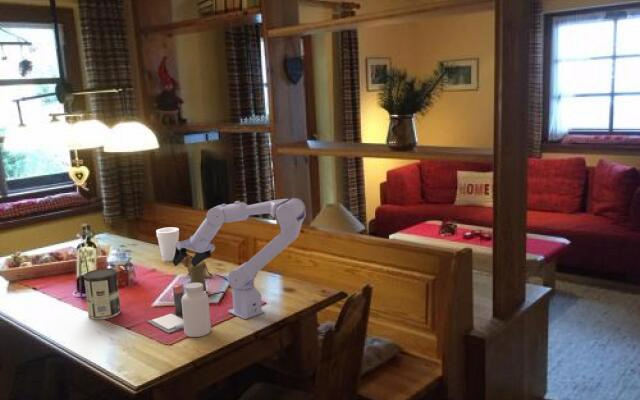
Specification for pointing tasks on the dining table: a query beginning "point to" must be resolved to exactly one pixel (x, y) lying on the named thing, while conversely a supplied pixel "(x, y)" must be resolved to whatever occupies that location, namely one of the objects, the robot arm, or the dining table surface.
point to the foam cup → (168, 242)
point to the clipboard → (168, 323)
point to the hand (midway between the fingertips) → (183, 264)
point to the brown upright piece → (197, 274)
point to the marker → (178, 298)
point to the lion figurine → (187, 263)
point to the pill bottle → (195, 311)
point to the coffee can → (102, 293)
